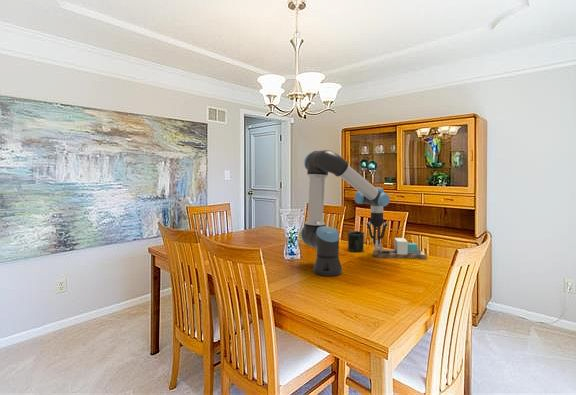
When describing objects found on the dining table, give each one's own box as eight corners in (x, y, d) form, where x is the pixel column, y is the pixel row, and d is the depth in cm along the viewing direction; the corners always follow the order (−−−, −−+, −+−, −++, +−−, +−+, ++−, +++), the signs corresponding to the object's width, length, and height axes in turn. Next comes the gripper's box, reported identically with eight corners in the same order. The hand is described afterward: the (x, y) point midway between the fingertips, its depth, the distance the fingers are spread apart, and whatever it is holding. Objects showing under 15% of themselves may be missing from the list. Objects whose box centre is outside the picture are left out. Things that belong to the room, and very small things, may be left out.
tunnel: (397, 254, 197) (397, 241, 196) (394, 250, 207) (394, 237, 206) (407, 254, 196) (407, 241, 195) (403, 250, 206) (404, 238, 205)
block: (407, 251, 198) (407, 244, 198) (405, 249, 203) (405, 242, 203) (417, 251, 198) (417, 244, 197) (415, 250, 202) (415, 243, 202)
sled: (380, 252, 200) (380, 244, 199) (378, 249, 207) (378, 242, 206) (421, 253, 196) (421, 245, 196) (418, 250, 203) (418, 243, 203)
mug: (344, 251, 215) (345, 233, 214) (352, 246, 227) (353, 229, 226) (360, 253, 209) (361, 235, 208) (367, 248, 221) (368, 231, 220)
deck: (375, 257, 198) (375, 253, 198) (373, 253, 209) (373, 249, 209) (426, 259, 194) (426, 255, 194) (421, 254, 205) (421, 250, 205)
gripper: (366, 212, 198) (366, 250, 201) (388, 213, 197) (388, 251, 199) (365, 211, 206) (365, 247, 208) (386, 211, 204) (386, 248, 206)
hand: (376, 249), depth 203 cm, fingers closed
